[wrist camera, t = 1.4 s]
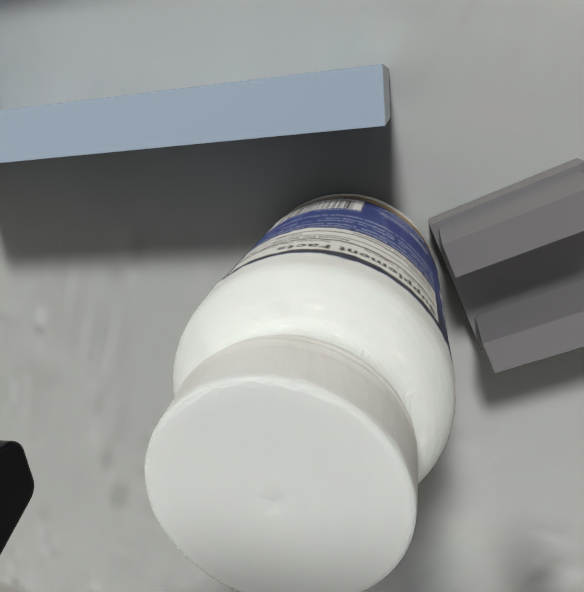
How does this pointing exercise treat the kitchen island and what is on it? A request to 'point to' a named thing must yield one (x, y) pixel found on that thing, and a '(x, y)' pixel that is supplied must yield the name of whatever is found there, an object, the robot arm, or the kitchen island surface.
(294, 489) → the pill bottle
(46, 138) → the end holder
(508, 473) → the kitchen island surface
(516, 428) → the kitchen island surface
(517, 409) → the kitchen island surface
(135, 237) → the kitchen island surface
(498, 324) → the clip
